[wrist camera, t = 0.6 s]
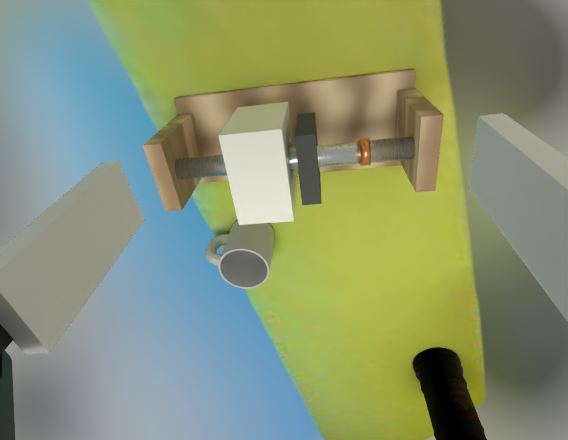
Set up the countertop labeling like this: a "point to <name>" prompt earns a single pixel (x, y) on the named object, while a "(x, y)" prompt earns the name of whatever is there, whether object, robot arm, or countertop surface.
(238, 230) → the cup
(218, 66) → the countertop surface
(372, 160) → the pipe
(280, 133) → the sleeve
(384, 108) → the stand
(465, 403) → the container
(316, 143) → the dark grey square plate
